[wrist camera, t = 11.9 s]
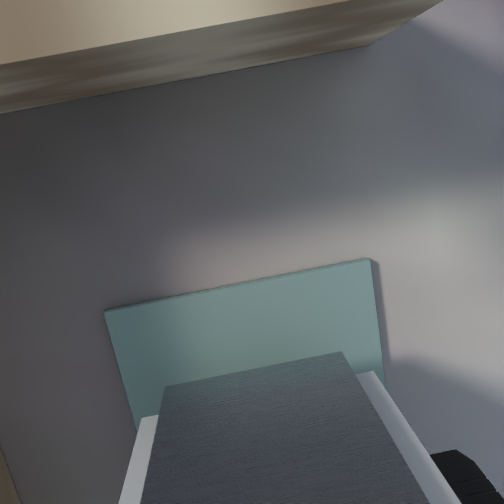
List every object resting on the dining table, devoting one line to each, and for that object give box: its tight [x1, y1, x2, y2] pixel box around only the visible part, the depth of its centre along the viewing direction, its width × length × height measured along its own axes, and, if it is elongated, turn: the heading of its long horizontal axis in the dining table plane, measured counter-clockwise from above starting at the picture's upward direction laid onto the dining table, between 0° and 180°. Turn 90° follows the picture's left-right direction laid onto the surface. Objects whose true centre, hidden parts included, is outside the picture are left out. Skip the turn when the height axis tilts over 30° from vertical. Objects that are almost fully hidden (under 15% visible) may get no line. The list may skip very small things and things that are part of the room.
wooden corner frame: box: [0, 0, 443, 504], centre depth 15 cm, size 18×24×7 cm
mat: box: [104, 258, 386, 433], centre depth 19 cm, size 10×13×1 cm
